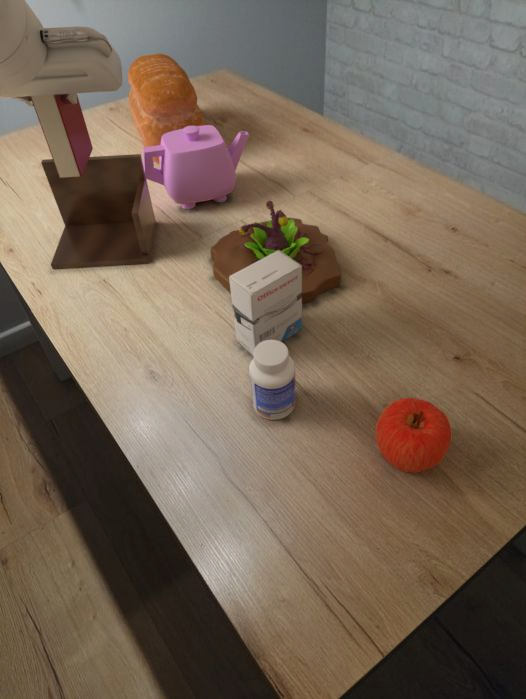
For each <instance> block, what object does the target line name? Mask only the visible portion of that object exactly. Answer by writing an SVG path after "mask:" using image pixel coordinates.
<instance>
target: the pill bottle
mask: <svg viewBox="0 0 526 699" xmlns="http://www.w3.org/2000/svg"><path fill="white" fill-rule="evenodd" d="M252 357H253V358H252V359H251V361H250V363H249V367H248V372H249V382H250V390H251V399H252V406H253V409H254V411H255V412H256V413H257V415H259V416H260V417H261V418H263V419H266V420H271V421H274V420H282V419H284V418H286V417H288V416H289V415H290V414H292V412H293V410H294V409H295V406H296V364H295V362H294V360H293V358H292V357H290V354H289V349H288V346H287V345H286V344H285V343H284V342H280V341H277V340H266V341H263V342H261V343H259V344H258V345H257V346H256V347H255V349H254V353H253V355H252Z"/></svg>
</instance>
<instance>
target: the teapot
mask: <svg viewBox="0 0 526 699" xmlns="http://www.w3.org/2000/svg"><path fill="white" fill-rule="evenodd" d="M249 135H250V134H249V132H248V131H238V133H237V135H236V136H235V138H234V139H233V141H232V142H231V143H230V145H229V146H227V144H226V142H225V140H224V138H223V136H222V135H221V133H220V131H219V130H218V129H217V128H216V126H214V125H212V124H206V125H204V126H187V127H185V128H184V129H179V130H175V131H171V132H168V133H165V134H164V135H163V136H162V139H161V145H157V146H151V147H142V162H143V167H144V171H145V176H146V180H147V181H148V180H149V181H150V182H153V183H156V184H159V185H163V187H164V189H165V190H166V192H167V194H168V195H169V197H170V198H171V200H172V201H173V202H174V203H175V204H179V205H180V204H181V208H182V209H184V210H189V209H193V208H194V207H195V206H196V203H200V202H201V203H202V202H206V201H211V200H213V201H215V202H218V203H223V202H225V201H226V200H227V199H228V197H227V195H229V194H231V193H232V192H233V191H234V189H235V187H236V184H237V176H236V171H237V168H238V165H239V162H240V160H241V157H242V154H243V152H244V149H245V146H246V145H247V141H248V139H249V137H250V136H249ZM153 157H159V163H160V164H159V163H158V164H159V168H157V167H155V164H154V161H153Z"/></svg>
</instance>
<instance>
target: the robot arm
mask: <svg viewBox="0 0 526 699" xmlns="http://www.w3.org/2000/svg"><path fill="white" fill-rule="evenodd" d="M122 86H123V68H122V60H121V57H120V55H119V53H118V52H117V50H116V49H115V48H114V46H113V45H112V44H111V43H110V41H109V39H108V38H107V36H106V35H104V34H103V33H100V32H99V31H98V30H96V29H94V28H91V27H88V26H83V25H82V26H80V25H79V26H60V27H44V26H43V24H42V22H41V21H40V19H39V18H38V16H37V15H36V13H35V12H34V11H33V10H32V8H31V6H30V5H29V3H27V1H26V0H0V99H2V98H10V99H13V100H17V101H19V102H24V103H25V104H26V105H27V106H28V107H34V106H33V103H32V100H31V97H30V96H40V95H57V94H60V98H61V100H62V102H64V104H77V96H78V94H89V93H92V94H93V93H105V92H106V93H107V92H117V91H118V90H120V88H122ZM76 93H77V94H76Z"/></svg>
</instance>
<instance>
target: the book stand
mask: <svg viewBox="0 0 526 699" xmlns="http://www.w3.org/2000/svg"><path fill="white" fill-rule="evenodd" d="M40 163H41V166H42V169H43V171H44V174H45V177H46V180H47V182H48V185H49V187H50V190H51V192H52V195H53V198H54V201H55V203H56V206H57V208H58V211H59V214H60V217H61V219H62V221H63V224H64V228H63V230H62V233H61V236H60V239H59V241H58V244H57V247H56V249H55V252H54V255H53V257H52V260H51V262H50V266H51V268H52V270H59V269H60V270H61V269H77V268H91V267H92V268H93V267H110V266H111V267H113V266H128V265H129V266H130V265H146V264H150V258H151V252H152V248H153V242H154V236H155V229H156V223H157V221H156V216H155V212H154V208H153V207H154V206H153V203H152V202H153V201H152V198H151V194H150V189H149V185H148V179H146V176H145V171H144V167H143V157H142V154H141V153H135V154H119V155H117V154H116V155H101V156H90V157H89V160H88V162H87V165H86V168H85V170H84V173H83V175H82V177H72V178H59V175H58V172H57V169H56V167H55V164H54V161H53V158H47V159H42V160H41V161H40Z"/></svg>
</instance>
